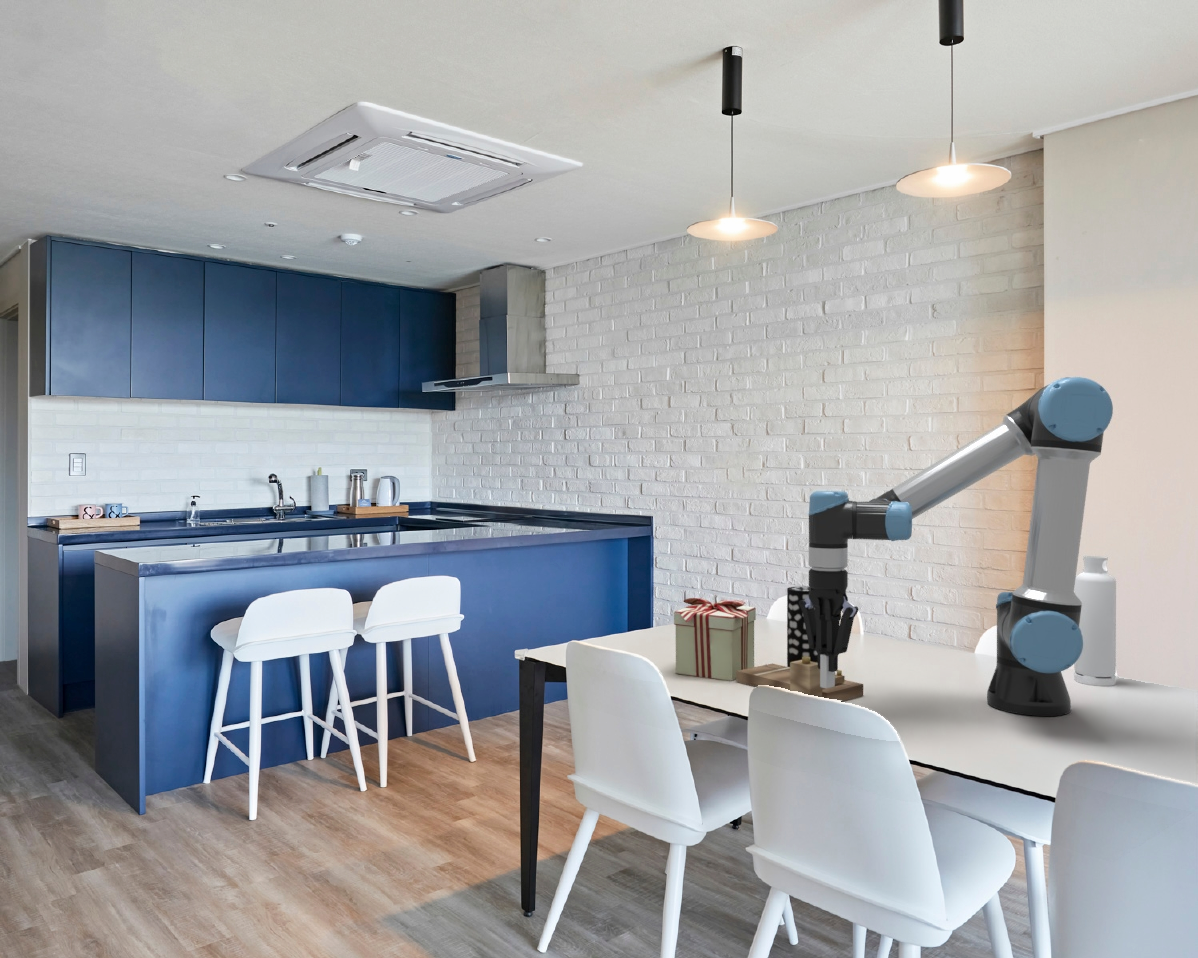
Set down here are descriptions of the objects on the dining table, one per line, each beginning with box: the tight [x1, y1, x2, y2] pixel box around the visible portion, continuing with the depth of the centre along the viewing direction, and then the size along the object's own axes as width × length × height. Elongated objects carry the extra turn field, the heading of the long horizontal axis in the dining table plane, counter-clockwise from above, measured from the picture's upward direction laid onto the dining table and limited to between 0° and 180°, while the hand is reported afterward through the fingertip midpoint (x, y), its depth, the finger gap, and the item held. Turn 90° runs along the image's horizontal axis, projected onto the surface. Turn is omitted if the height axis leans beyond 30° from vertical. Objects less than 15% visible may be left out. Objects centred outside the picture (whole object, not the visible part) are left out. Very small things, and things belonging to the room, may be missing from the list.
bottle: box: [1073, 555, 1117, 687], centre depth 199 cm, size 8×8×28 cm
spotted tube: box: [786, 586, 818, 667], centre depth 206 cm, size 8×8×20 cm
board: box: [736, 663, 864, 702], centre depth 193 cm, size 25×12×3 cm, turn 38°
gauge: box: [790, 656, 846, 697], centre depth 184 cm, size 5×13×9 cm, turn 128°
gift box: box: [673, 597, 757, 682], centre depth 209 cm, size 17×18×17 cm
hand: (827, 686), depth 177 cm, fingers closed
